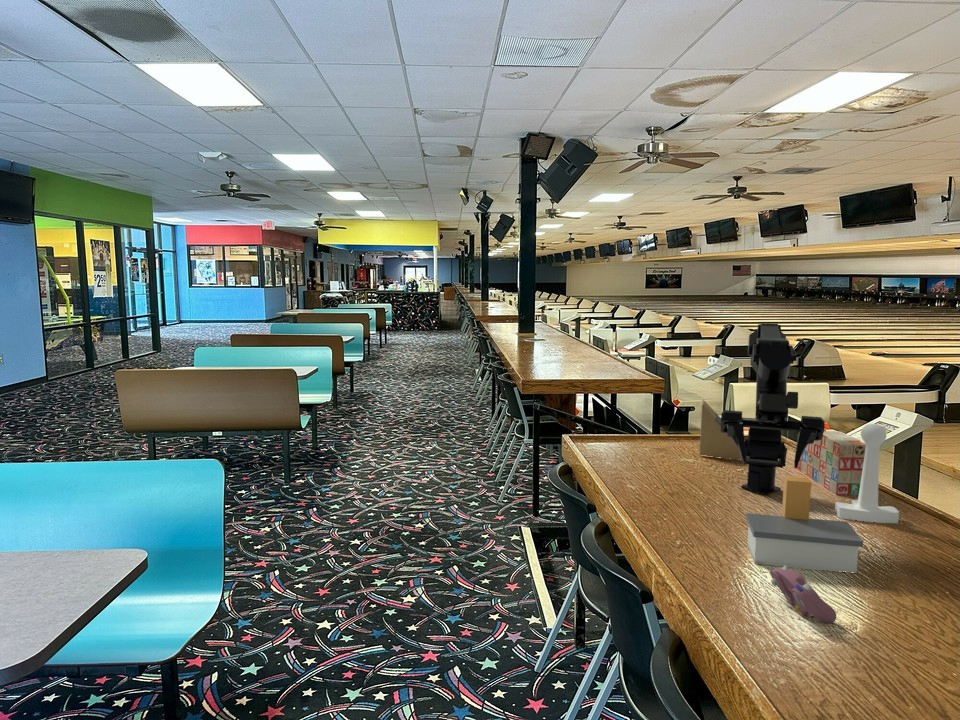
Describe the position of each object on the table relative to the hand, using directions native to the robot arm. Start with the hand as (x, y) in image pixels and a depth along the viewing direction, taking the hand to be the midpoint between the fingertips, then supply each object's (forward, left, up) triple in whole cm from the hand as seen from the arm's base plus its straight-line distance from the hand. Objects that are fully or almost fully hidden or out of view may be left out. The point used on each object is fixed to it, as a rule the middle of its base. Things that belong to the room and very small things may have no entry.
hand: (769, 465), depth 127 cm
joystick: (-24, +8, -13) cm, 29 cm away
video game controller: (+25, +20, -13) cm, 34 cm away
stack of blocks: (-41, -8, -13) cm, 44 cm away
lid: (+8, +11, -9) cm, 16 cm away
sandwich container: (-42, -36, -13) cm, 57 cm away
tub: (+8, +11, -13) cm, 19 cm away
